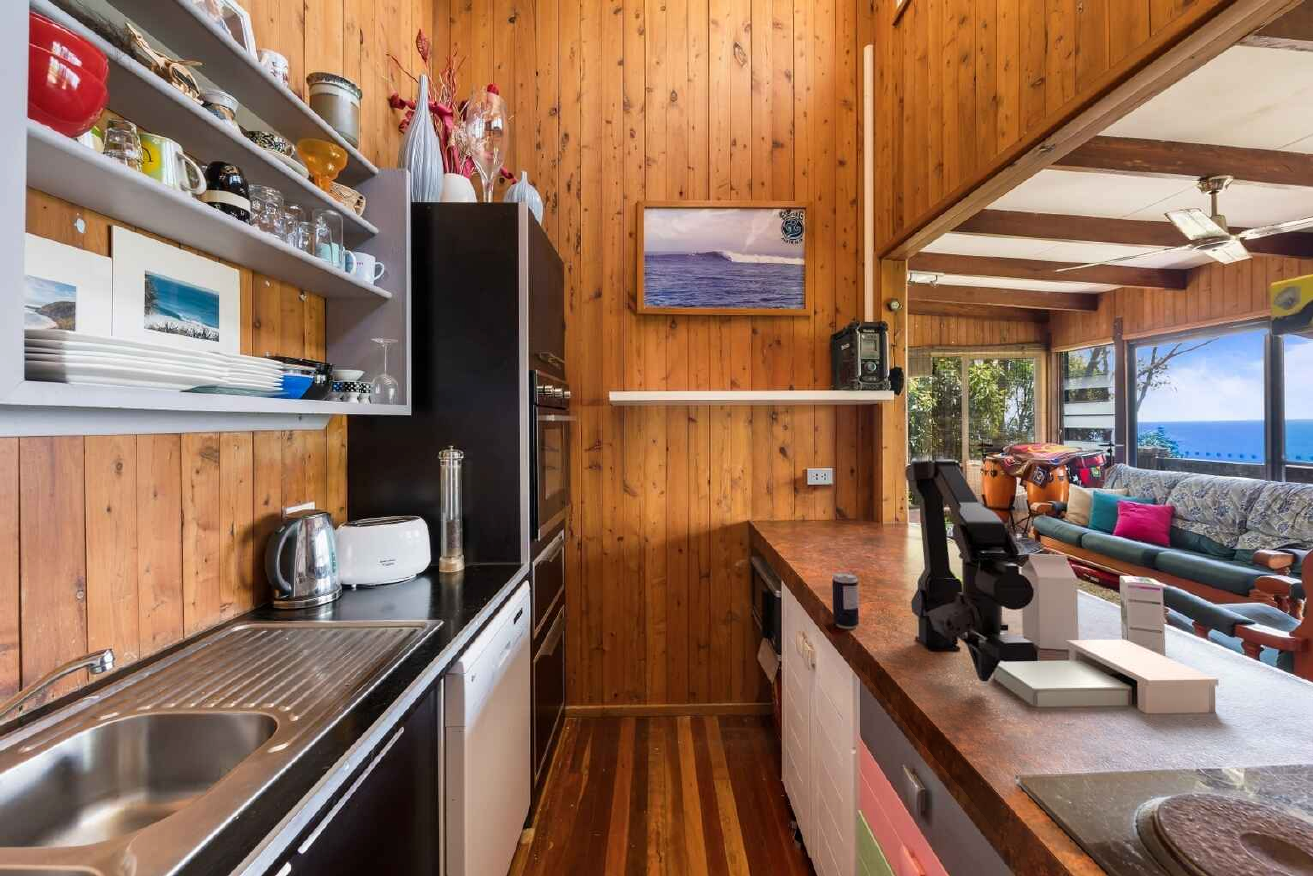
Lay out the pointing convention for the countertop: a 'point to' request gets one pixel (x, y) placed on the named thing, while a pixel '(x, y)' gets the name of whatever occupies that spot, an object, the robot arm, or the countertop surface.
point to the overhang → (1150, 675)
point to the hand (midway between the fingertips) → (983, 680)
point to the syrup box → (1142, 612)
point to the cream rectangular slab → (1062, 684)
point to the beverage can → (845, 600)
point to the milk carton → (1050, 602)
